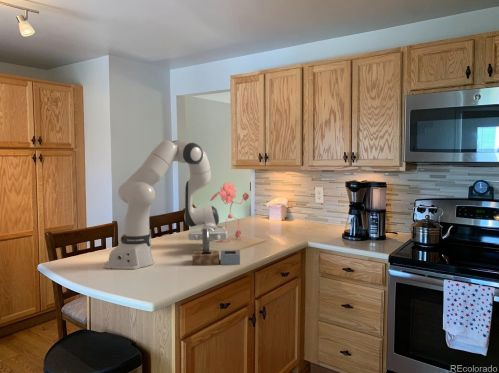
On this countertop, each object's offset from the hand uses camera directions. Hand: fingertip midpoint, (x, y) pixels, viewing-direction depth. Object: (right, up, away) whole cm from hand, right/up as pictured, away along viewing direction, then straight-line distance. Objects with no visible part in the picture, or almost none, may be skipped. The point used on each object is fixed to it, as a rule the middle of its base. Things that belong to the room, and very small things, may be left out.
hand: (207, 238), depth 192 cm
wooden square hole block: (+1, -10, -9) cm, 14 cm away
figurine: (+8, -7, +41) cm, 42 cm away
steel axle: (+1, -10, -9) cm, 14 cm away
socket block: (+12, -10, -9) cm, 18 cm away
